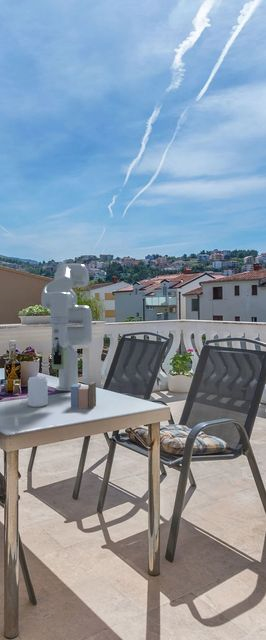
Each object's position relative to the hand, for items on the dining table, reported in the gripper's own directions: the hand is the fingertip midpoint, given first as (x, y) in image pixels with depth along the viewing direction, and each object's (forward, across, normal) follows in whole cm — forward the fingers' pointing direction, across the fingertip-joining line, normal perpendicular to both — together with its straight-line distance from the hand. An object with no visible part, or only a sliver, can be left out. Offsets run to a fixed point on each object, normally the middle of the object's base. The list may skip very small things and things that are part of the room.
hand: (59, 363), depth 215 cm
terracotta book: (+18, -1, -11) cm, 21 cm away
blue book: (+18, -1, -7) cm, 20 cm away
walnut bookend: (+18, -1, -14) cm, 23 cm away
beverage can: (+18, 0, +10) cm, 21 cm away
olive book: (+2, 0, 0) cm, 2 cm away
